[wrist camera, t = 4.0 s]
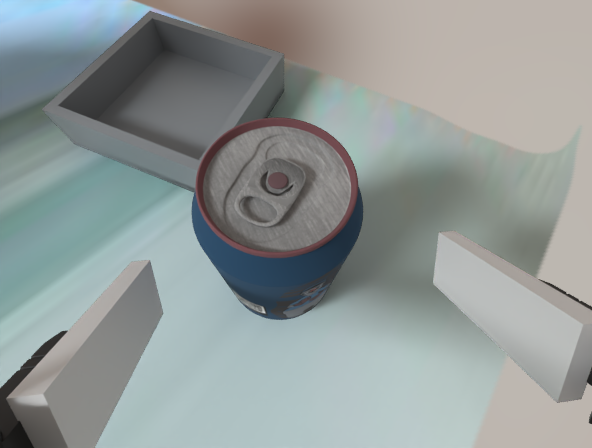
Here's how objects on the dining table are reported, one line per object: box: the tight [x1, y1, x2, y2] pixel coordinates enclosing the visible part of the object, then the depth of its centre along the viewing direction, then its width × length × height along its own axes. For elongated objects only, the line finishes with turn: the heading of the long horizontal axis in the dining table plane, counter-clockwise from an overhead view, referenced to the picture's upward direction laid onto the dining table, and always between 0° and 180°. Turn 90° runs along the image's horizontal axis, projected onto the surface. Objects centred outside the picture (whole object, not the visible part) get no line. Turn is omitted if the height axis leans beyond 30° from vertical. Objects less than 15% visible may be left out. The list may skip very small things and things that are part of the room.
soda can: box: [192, 118, 363, 320], centre depth 16 cm, size 7×7×12 cm
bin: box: [41, 11, 284, 192], centre depth 25 cm, size 14×14×4 cm
